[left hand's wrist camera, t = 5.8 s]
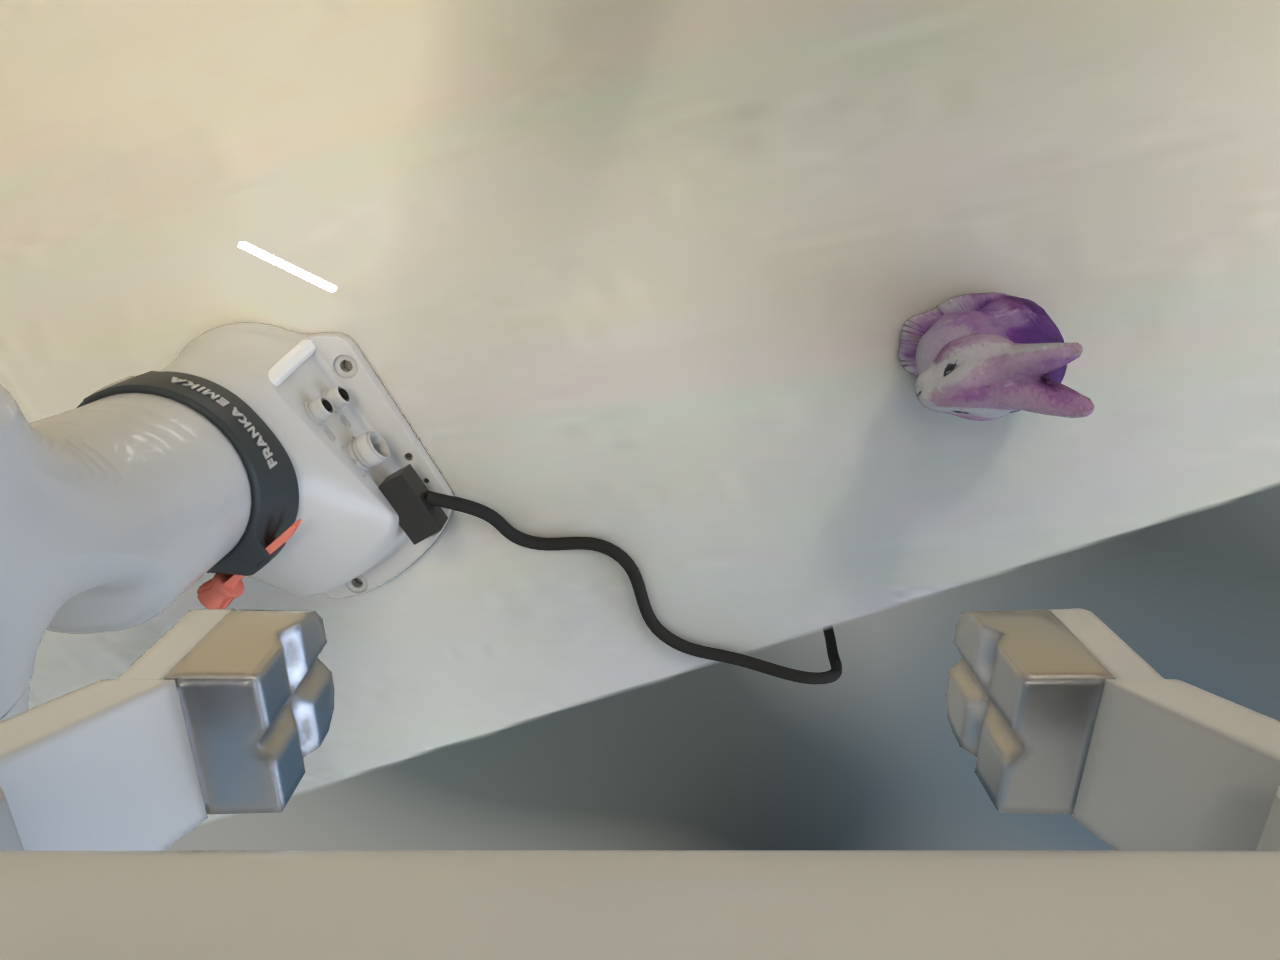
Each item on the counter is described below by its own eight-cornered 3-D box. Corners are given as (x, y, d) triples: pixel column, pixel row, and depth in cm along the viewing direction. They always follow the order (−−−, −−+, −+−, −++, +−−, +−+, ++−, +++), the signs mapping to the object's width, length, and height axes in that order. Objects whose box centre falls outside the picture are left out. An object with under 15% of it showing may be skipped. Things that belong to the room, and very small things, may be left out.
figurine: (861, 352, 57) (935, 405, 43) (979, 251, 54) (1097, 272, 40) (939, 442, 59) (1032, 521, 45) (1054, 350, 57) (1191, 402, 43)
